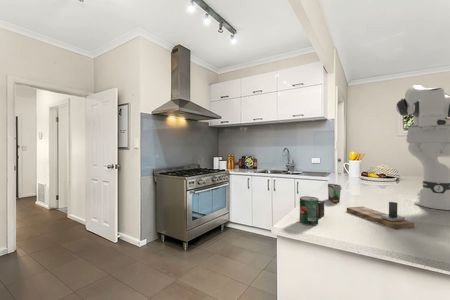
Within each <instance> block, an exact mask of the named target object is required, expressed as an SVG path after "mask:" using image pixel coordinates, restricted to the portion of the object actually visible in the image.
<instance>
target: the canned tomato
mask: <svg viewBox="0 0 450 300" xmlns="http://www.w3.org/2000/svg"><path fill="white" fill-rule="evenodd" d="M318 200H320V199H319V198H318V197H315V196H309V195H308V196H307V195H306V196H299V223H300V224H302V225H303V226H310V227H313V226H314V227H315V226H318V225H319V218H318Z"/></svg>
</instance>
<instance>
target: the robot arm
mask: <svg viewBox="0 0 450 300" xmlns="http://www.w3.org/2000/svg"><path fill="white" fill-rule="evenodd" d="M395 106H396V107H395V108H396V113H397V112H398V114H399V115H400V116H403V117H404V116H409V115H413V118H412V119H413V120H412V121H413V124H411V125H409V126H408V128H407V134H406V142H407V143H408V145H407V146H408V147H407V149H408V152H409V153H410V154H411V155H412V156H413V157H415V158H416V159H417V160H418V161H419V162H420V164H421V166H422V170H423V180H422V188H421V189H420V190H419V191H418V192H417V200H415V201H414V205H416V206H420V207H424V208H430V209H433V210H434V209H435V210H446V211H450V167H449V166H448V165H446V164H444V163H441V162H440V161H439V159H438V158H450V94H448V93H445V90H444V88H442V87H433V88H428V87H426V86H424V85H419V84H417V85H412V86H410V87H408V88H407V90H406V91H405V94H404V98H401V99H400V100H399V101H398V102H396V105H395Z"/></svg>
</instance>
